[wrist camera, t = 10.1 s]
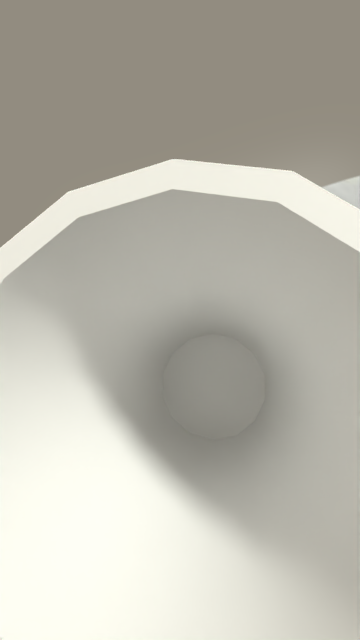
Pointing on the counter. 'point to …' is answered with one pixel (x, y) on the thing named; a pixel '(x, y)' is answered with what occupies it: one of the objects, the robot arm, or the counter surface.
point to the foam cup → (182, 411)
